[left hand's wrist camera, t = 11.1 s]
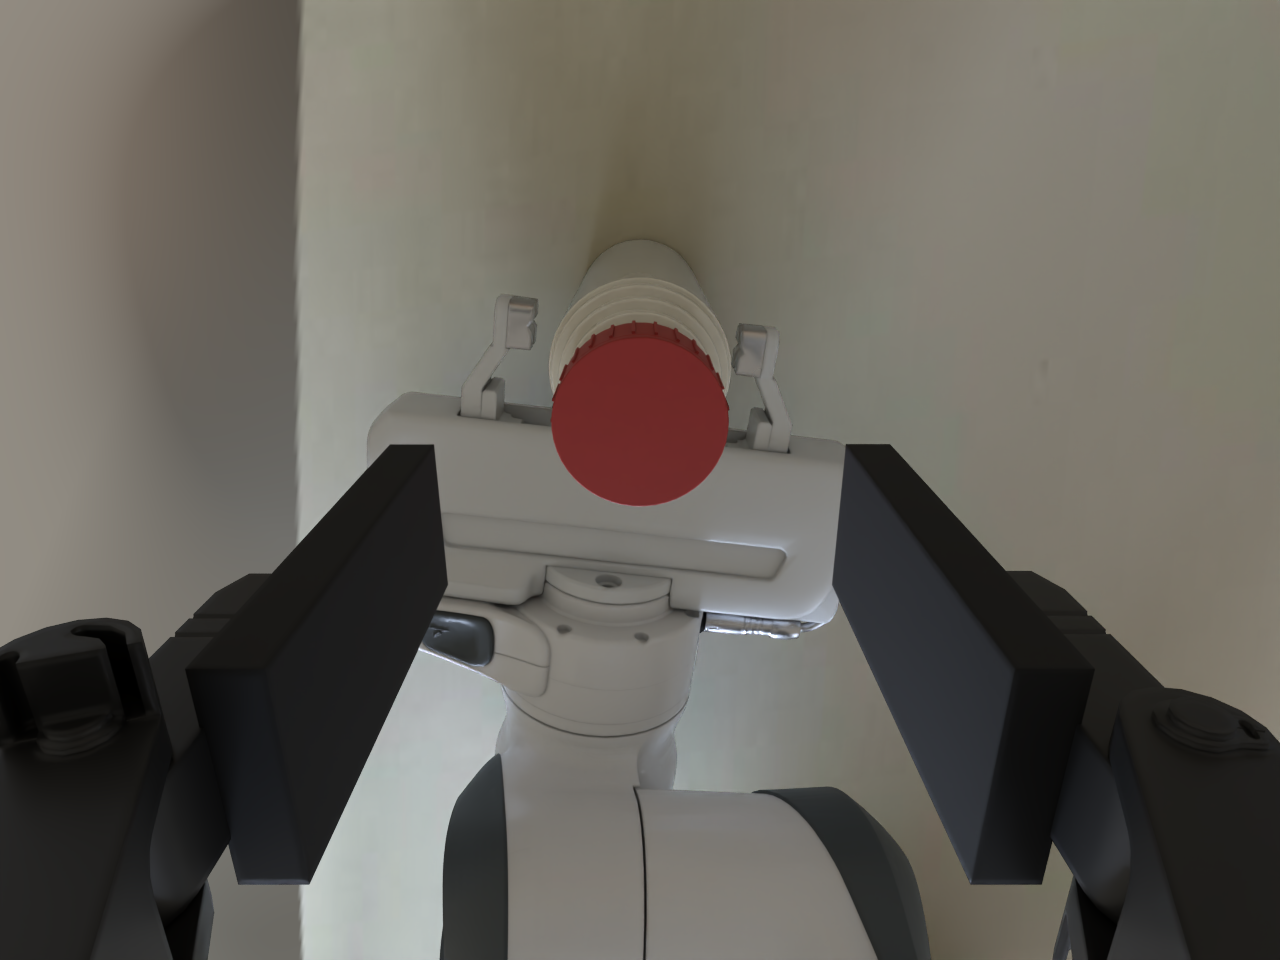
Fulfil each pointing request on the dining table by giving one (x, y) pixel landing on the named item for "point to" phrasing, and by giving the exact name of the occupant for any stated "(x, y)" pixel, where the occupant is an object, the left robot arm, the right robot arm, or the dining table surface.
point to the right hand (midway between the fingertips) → (639, 312)
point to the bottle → (640, 304)
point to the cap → (639, 415)
